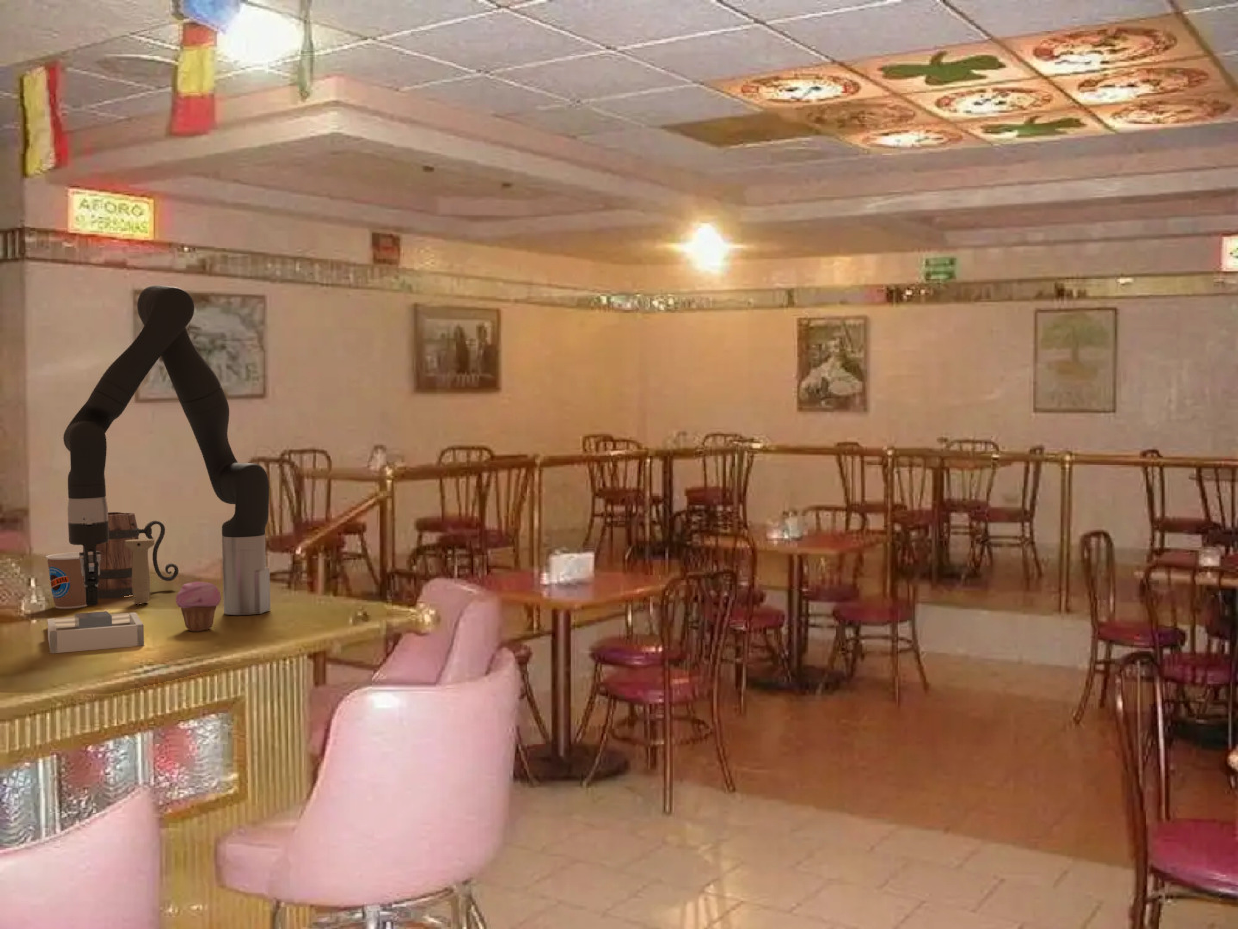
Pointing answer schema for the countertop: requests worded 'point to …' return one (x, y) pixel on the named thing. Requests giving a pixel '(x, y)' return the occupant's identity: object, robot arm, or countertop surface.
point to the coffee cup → (66, 580)
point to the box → (96, 637)
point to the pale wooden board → (69, 622)
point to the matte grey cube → (93, 620)
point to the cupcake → (198, 604)
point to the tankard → (124, 556)
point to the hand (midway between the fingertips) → (92, 604)
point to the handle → (140, 568)
